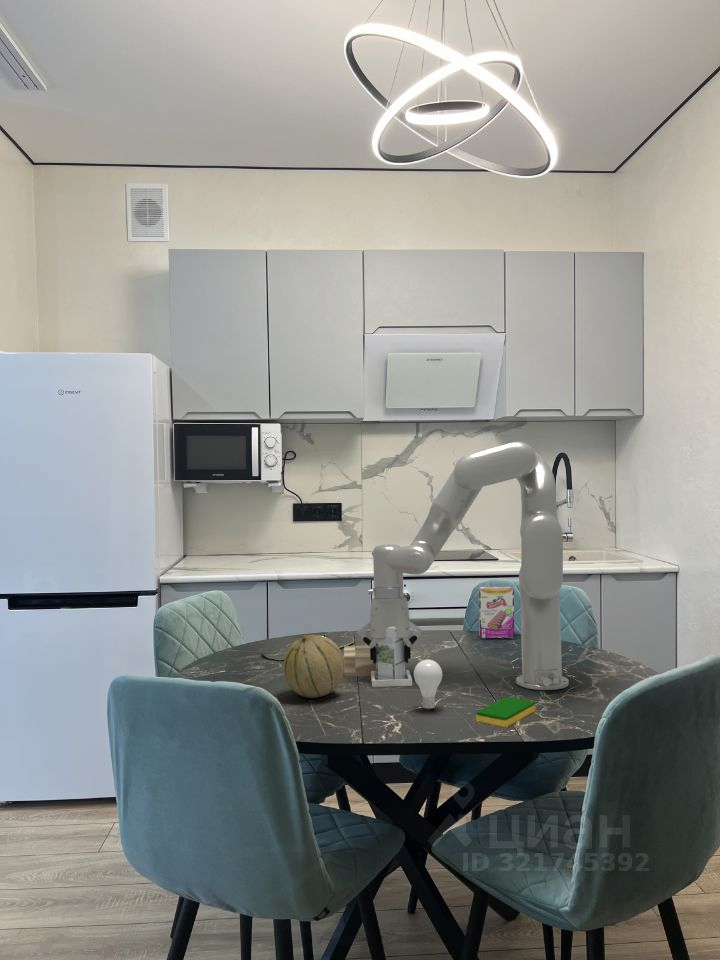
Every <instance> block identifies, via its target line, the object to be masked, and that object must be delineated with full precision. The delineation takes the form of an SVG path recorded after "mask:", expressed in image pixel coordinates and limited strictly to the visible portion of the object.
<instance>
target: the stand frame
mask: <svg viewBox="0 0 720 960" xmlns="http://www.w3.org/2000/svg"><path fill="white" fill-rule="evenodd" d="M405 676H406V679H390V680H377V679H376V678H377V677H376V671H371V676H370V679H371V686H372V688H376V687H378V688H379V687H385V688H386V687H413V677H412V675H411V673H410V670H409V669H405Z"/></svg>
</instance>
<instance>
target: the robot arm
mask: <svg viewBox="0 0 720 960" xmlns="http://www.w3.org/2000/svg"><path fill="white" fill-rule="evenodd" d="M513 479H515V480H517V481H518V483H519V486H520V487H519V488H520V498H521V499H520V501H521V520H520V530H519V534H520V540H521V541H520V542H521V546H520V547H521V551H520V552H521V556H520V557H521V559H520V561H521V566H520V568H519V571H518V572H519V573H518V580H519V581H518V584H519V597H520V598H519V599H520V600H519V601H520V633H521V634H520V638H521V639H520V641H521V671H522V672H521V674H519V675H518V676H517V677H516V678H515V682H516V685H518V686H519V687H521V688H524V689H528V690H536V691H538V690H539V691H554V690H555V691H556V690H561V689H562V690H563V689H565V688H568V686H569V684H570V683H569V682H570V681H569V678H567V677H565V676H563V669H562V668H563V666H562V664H563V663H562V662H563V661H562V636H561V635H562V634H561V633H562V632H561V631H562V630H561V602H560V601H561V600H560V591H561V588H562V585H563V581H564V579H563V577H564V540H563V539H564V538H563V537H564V536H563V530H562V526H561V524H560V522H559V521H558V513H557V512H558V510H557V509H558V508H557V507H558V506H557V505H558V503H557V490H556V489H557V487H556V480H555V476H554V473H553V470H552V468H551V467H550V465H549V463H548V462H547V461H546V460H545V458H544V457H543V456H541V455H540V454H539V453H537V452H536V451H535V450H534V449H533V447H531V446H530V444H528V443H525V442H523V441H513V442H509V443H505V444H502V445H499V446H498V445H497V446H495V447H491V448H488V449H486V450H485V449H484V450H481V451H477V452H473V453H469V454H466V455H464V456H461V457H460V458H459V459H457V461H456V463H455V466H454V468H453V470H452V472H451V473H450V475H449V477H448V479H446V482H444V485H443V486H442V488H441V490H440V491H439V492H438V494H437V496H436V497H435V498H434V500H433V502H432V503H431V506H430V508H429V510H428V511H429V512H428V515H427V517H426V519H425V520H424V522H423V524H422V526H421V527H420V529H419V531H418V532H417V534H416V535H415V537H414V538H413V540H412V542H411V543H410V545H406V546H405V545H404V546H400V545H397V544H379V545H375V547H374V548H373V552H372V553H373V554H372V557H373V558H372V559H373V565H372V566H373V587H372V588H369V589H368V595H371V596H373V598H371V602H370V607H369V608H370V609H369V611H370V612H369V622H367V623H366V624H365V625H364V626H362V627H361V628H360V629H358V631H357V635H358V636H359V637H360V638H361V639H362V641H363V642H364V643H365V645H366V646H369V647H370V660H373V664H375V663H376V647H375V645H376V642H377V640H378V639H386V628H388V627H396V629H397V639H403V640H404V644H405V664H409V660H411V656H412V655H411V654H412V653H411V651H412V650H411V647H412V645H413V644H414V643H416V641H417V640H418V638H419V637H420V636H421V634H422V633H423V630H422V628H421V627H419V626H418V625H416V624H415V623H413V622H412V621H410V611H409V610H410V609H409V603H408V600H407V597H404V595H405V594H404V574H407V575H422V574H424V573H426V572H427V571H428V570H429V569H430V568H431V566H432V564H433V563H434V562H435V560H436V558H437V556H438V555H439V553H440V552H441V550H442V549H443V547H444V546H445V544H446V542H447V541H448V539H449V538H450V536H451V535H452V534H453V532H454V531H455V530H456V529H457V528H458V527H459V525H460V524H461V522H462V521H463V519H464V518H465V517H466V514H467V512H468V511H469V509H470V507H471V506H472V505H473V503H474V502H475V500H476V498H477V497H478V496H479V494H480V493H481V491H482V489H483V487H487V486H491V485H495V484H498V483H503V482H507V481H511V480H513ZM411 629H412V631H414V633H413V634H412V635H410V634H411ZM367 631H369V635H370V637H371V639H370V638H369V637H368V636H366V632H367ZM410 636H411V637H410Z"/></svg>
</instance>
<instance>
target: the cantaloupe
mask: <svg viewBox="0 0 720 960" xmlns="http://www.w3.org/2000/svg"><path fill="white" fill-rule="evenodd" d="M321 635H322V634H310V635H304V636H302V637H301V638H298V639H299V640H297V639H296V640H297V641H295V642H294V643H293V644H292V645H291V646H290V647H288V649H287V650H286V653H285V654H284V657H283V658H284V661H282V672H283V677H284V680H285V682H286V684H287V685H288V686H289V688H290V689H291V690H292V691H293V692H295V693H296V694H298V695H299V696H301V697H305V698H311V699H315V698H321V697H324V696H326V695H329V694H331V693H332V692H334V691H335V690H336V689H337V688H338V687H339V685H340V683H341V682H342V679H343V678H344V669H345V662H344V653H342V651H341V650H342V649H339V646H338V645H337V644H336V642H334V640H333V639H329V638H327V637H324V636H321Z"/></svg>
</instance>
